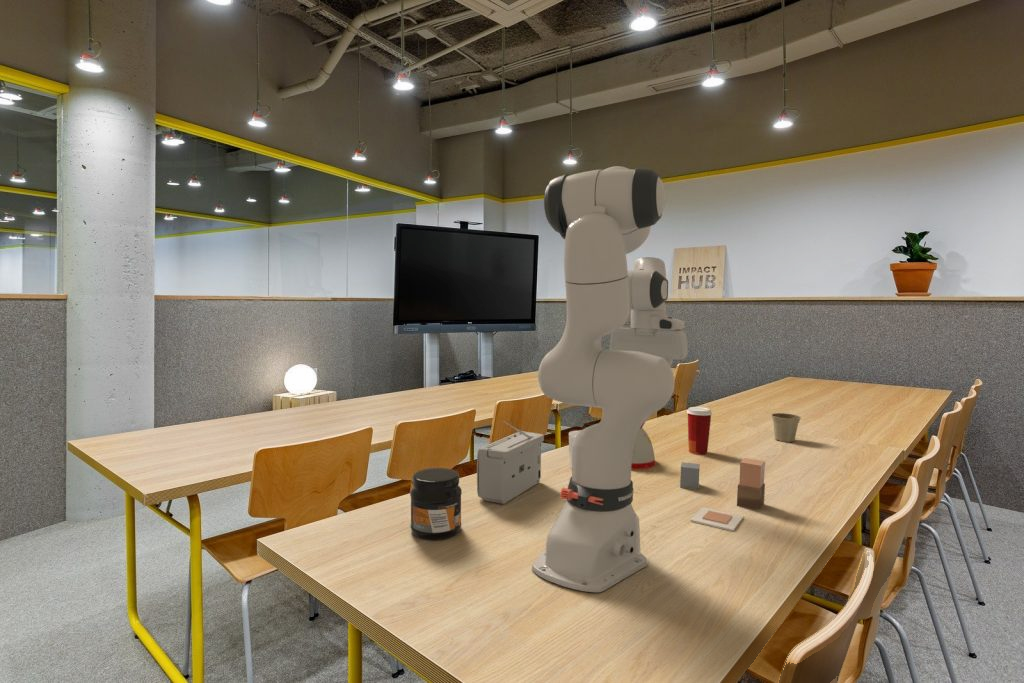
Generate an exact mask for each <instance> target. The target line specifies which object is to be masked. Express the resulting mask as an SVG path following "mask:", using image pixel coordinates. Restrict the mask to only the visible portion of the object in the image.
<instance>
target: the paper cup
mask: <svg viewBox="0 0 1024 683" xmlns="http://www.w3.org/2000/svg"><path fill="white" fill-rule="evenodd" d="M686 413H687V435H688V436H687V438H688V442H687V443H688V444H687V445H688V452H689V453H691V454H693V455H698V456H699V455H706V454H708V449H709V440H710V438H709V437H710V430H711V422H712V421H711V420H712V415H713V413H712V409H710V408H708V407H704V406H703V407H702V406H691V407H688V408H687V411H686Z"/></svg>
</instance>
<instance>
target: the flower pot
mask: <svg viewBox="0 0 1024 683" xmlns="http://www.w3.org/2000/svg"><path fill="white" fill-rule="evenodd" d="M770 416H771V418H772V422H773V423H772V424H773V432H774V439H775V440H776V441H779V442H782V443H791V442H792V443H793V442H795V440H796V436H797V432H798V426H799V423H800V420H801V419H802V417H801V416H800V415H797V414H792V413H786V412H785V413H784V412H777V413H776V412H773V413H771V414H770Z"/></svg>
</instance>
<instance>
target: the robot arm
mask: <svg viewBox="0 0 1024 683" xmlns="http://www.w3.org/2000/svg"><path fill="white" fill-rule="evenodd" d="M666 193H667V192H666V189H665V185H664V182H663V180H662V176H661V175H660V174H659V173H658V172H657V171H655V170H654V169H652V168H648V167H636V168H635V169H633V168H632V169H630V168H627V167H625V166H621V165H616V166H611V167H610V166H609V167H607V168H605V169H594V170H589V171H588V170H587V171H583V172H578V173H575V174H568V173H566V174H562V175H559V176H557V177H555V178H553V179H551V180H550V181H549V183H548V185H547V186H546V188H545V191H544V197H543V205H544V206H543V207H544V212H545V213H544V214H545V218H546V220H547V222H548V224H549V225H550V226H551V228H552V229H553V230H554V232H557V233H558V234H559V235H560V237H561V238H562V240H564V251H563V252H564V254H563V255H564V256H563V265H564V270H563V272H564V282H565V283H564V284H565V286H564V287H565V298H566V299H565V300H566V320H565V321H566V322H565V326H564V330H563V333H562V336H561V338H560V340H559V341H558V343H557V344H556V345H555V346H554V347H553V348H552V349H551V350H550V351H548V352H547V353H546V354H545V356H544V357H542V360H541V362H540V364H539V367H538V370H537V380H538V385H539V387H540V390H541V392H542V393H543V395H544V396H545V397H546V398H548V399H550V400H553V401H557V402H559V403H561V404H562V403H563V404H566V405H568V406H569V405H571V406H580V407H589V408H599V409H602V415H601V419H600V422H598V423H595V424H592V425H589V426H588V427H585V428H583V429H581V430H582V431H580V432H579V433H578V434H577V435H576V437H575V439H574V441H573V447H572V469H571V477H569V481H568V485H567V488H566V487H562V488H561V489H560V493H559V496H560V499H561V500H566V502H565V504H564V506H563V507H562V508H561V511H560V512H559V514H558V515H557V518H556V519H555V522H553V525H552V526H551V528H550V530H549V532H548V534H547V537H546V543H545V549H543V550H542V552H540V554H539V556H538V557H537V558H535V560H534V561H533V563H532V564H531V570H532V571H533V573H534V574H535V575H537V576H539V577H541V578H542V579H544V580H546V581H548V582H551V583H554V584H556V585H559V586H562V587H565V588H567V589H572V590H576V591H581V592H587V593H588V592H589V593H601V592H604V591H605V590H608V589H609V588H611V587H613V586H615V585H616V584H618V583H619V582H621V581H623V580H624V579H626V578H628V577H630V576H631V575H633V574H636V573H637V572H638V571H640V570H642V569H643V568H645V567H646V566H648V559H647V557H646V556H645V555H644V554H642V553H641V536H640V535H641V534H640V518H639V516H638V515H637V514H636V511H635V510H634V507H633V505H632V502H633V501H634V500H633V499H634V482H633V481H632V469H631V464H632V454H633V446H634V441H635V438H636V436H637V433H638V431H639V429H640V428H641V426H642V425H643V423H644V422H645V423H646V421H647V420H648V419H649V418H650V417H652V415H654V414H655V413H657V412H659V411H660V410H662V409H663V408H664V407H665V406H666V405H667V404H668V403H669V402H670V400H671V399H672V396H673V394H674V390H675V375H674V372H673V369H672V367H671V366H672V364H673V363H674V360H678V361H679V360H681V361H682V360H684V359H686V358H687V356H688V351H689V350H688V337H687V334H686V332H685V331H684V330H683V329H684V328H685V322H684V320H681V319H678V318H675V317H672V316H670V315H667V307H666V303H665V302H666V301H667V300H668V297H669V280H668V279H667V271H666V270H667V269H666V264H665V261H664V260H662V259H660V258H656V257H641V258H638V259H636V260H635V261H634V264H633V269H628V261H627V260H628V259H627V255H628V254H631V253H632V252H634V251H635V250H637V249H638V248H640V247H642V245H643V244H644V243H645V242H646V240H647V239H648V237H649V235H650V231H651V227H653V226H655V225H656V224H657V223H658V222H659V221H660V220H661V218H662V215H663V211H664V210H665V208H666V207H665V206H666V201H667V200H666V198H667V195H666ZM629 316H630V320H629ZM609 334H611V336H610V341H609V349H605V348H603V346H602V340H603V339H602V338H603V337H605V336H607V335H609ZM645 423H644V424H645ZM643 426H644V425H643Z"/></svg>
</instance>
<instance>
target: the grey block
mask: <svg viewBox="0 0 1024 683" xmlns="http://www.w3.org/2000/svg"><path fill="white" fill-rule="evenodd" d="M700 465H701V464H700V463H694V462H686V461H685V462H681V465H680V477H679V478H680V482H679V483H680V484H679V485H680V486H679V487H680V488H682V489H690V490H698V491H699V488H700V487H699V486H700V469H701V468H700V467H701V466H700Z"/></svg>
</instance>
